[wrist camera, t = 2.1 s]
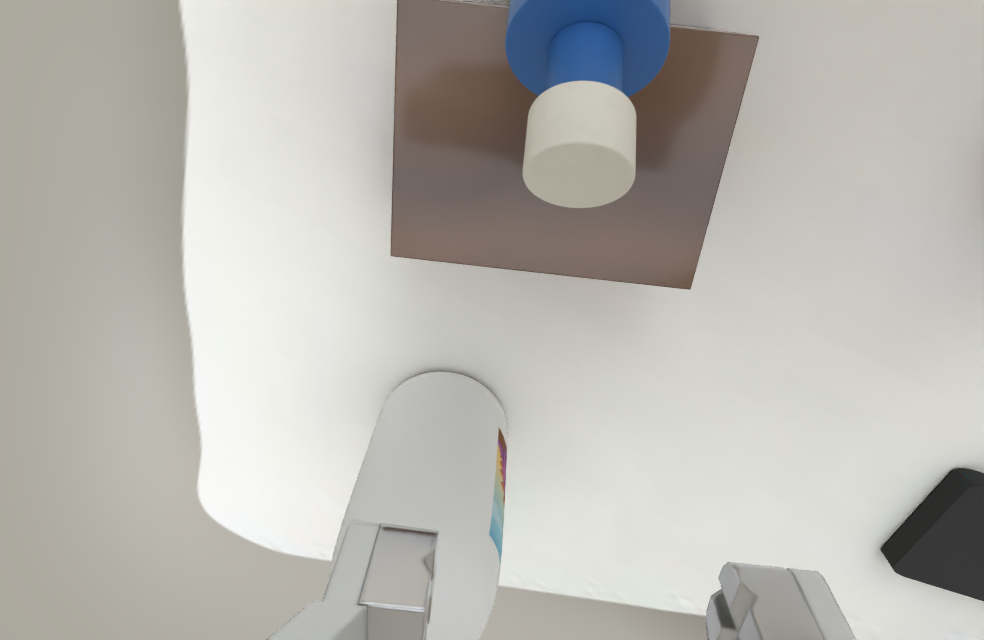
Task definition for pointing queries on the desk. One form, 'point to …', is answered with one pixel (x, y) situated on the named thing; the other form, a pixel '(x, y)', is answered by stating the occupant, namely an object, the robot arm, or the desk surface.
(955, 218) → the desk surface
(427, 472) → the milk bottle
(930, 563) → the smart home device
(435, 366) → the desk surface
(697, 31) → the wooden box
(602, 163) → the bottle
